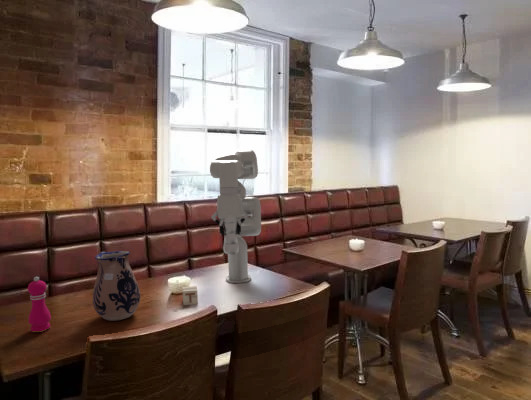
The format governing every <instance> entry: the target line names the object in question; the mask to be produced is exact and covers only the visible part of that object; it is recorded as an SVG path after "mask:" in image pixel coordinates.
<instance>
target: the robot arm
mask: <svg viewBox="0 0 531 400" xmlns="http://www.w3.org/2000/svg"><path fill="white" fill-rule="evenodd" d="M257 159H258V157H257V155H256V151H254V150H252V149H234V150H230V151H229V152H228V153H227V154H226V155H221V156H218V157H214V158H213V159H212V161H211V162H210V165H209V173H210V175H211V177H212V178H213V179H218V180H219V194H218V195H217V199H216V200H217V201H216V210H215V212H214V213H213V214H212V215H211V216H210V218H211V219H212V220H213V221H214V222H215V223H216V224H217V225H219V234H220V235H221V237H222V236H224V226H223V220H224V219H225V218H226V217H227V216H229V215H233V216H235V217H236V218H237V219H238V224H237V240H238V246H239V250H238V253H237V254H233V255H229V254H227V257H228V258H227V263H228V275H227V276H226V277H225V281H226V282H227V283H231V284H243V283H247V282H250V281H251V280H252V276H251V275H250V274H248V273H249V270H248V268H249V267H248V266H249V265H248V244H247V241H246V240H245V239H244V238H243V237H250V236H251V237H256V236H259V235H260V234H261V232H262V207H261V201H260V199H259V198H258V197H256V196H247V190H246V187H245V186H244V184H243V183H242V182H240V180H255V179H256V178H257V176H258V174H259V167H258V160H257ZM217 218H218V219H219V220H218V219H217Z"/></svg>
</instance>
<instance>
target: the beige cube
mask: <svg viewBox="0 0 531 400" xmlns="http://www.w3.org/2000/svg"><path fill="white" fill-rule="evenodd" d="M198 296H199V295H198V286H197V285H190V286H182V302H183V303H182V305H183V306H191V305H198V304H199V299H198Z"/></svg>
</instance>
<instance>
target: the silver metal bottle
mask: <svg viewBox="0 0 531 400" xmlns="http://www.w3.org/2000/svg"><path fill="white" fill-rule="evenodd" d="M237 224H238V219H237V218H236V217H235V216H233V215H229V216H227V217H226V218H225V219H224V220H223V228H224V235H223V236H224V237H223V238H224V240H223V246H222V249H223V253H224V254H225V255H228V254H229V255H233V254H237V253H238V250H239V246H238V240H237Z"/></svg>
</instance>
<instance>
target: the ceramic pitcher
mask: <svg viewBox="0 0 531 400" xmlns="http://www.w3.org/2000/svg"><path fill="white" fill-rule="evenodd" d="M130 253H131V252H130V251H123V250H120V251H119V250H118V251H117V250H115V251H100V252H98V253H97V254H96V255H95V256H94V259H95V260H96V262H97V269H98V270H97V274H96V279H95V281H94V285H93V286H94V287H93V291H92V305H93V309H94V310H95V311H96V313H97V314H98V315H99V317H101V318H102V319H104V320H105V321H115V322H116V321H121V320H124V319H125V320H126V319H128V318H130V317H132V315H134V313H135V312H136V311H137V310H138V307H139V306H140V302H141V291H140V287H139V284H138V282H137V279H136V276H135V274H134V272H133V270H132V267H131V265H130V262H129V255H130Z"/></svg>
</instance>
